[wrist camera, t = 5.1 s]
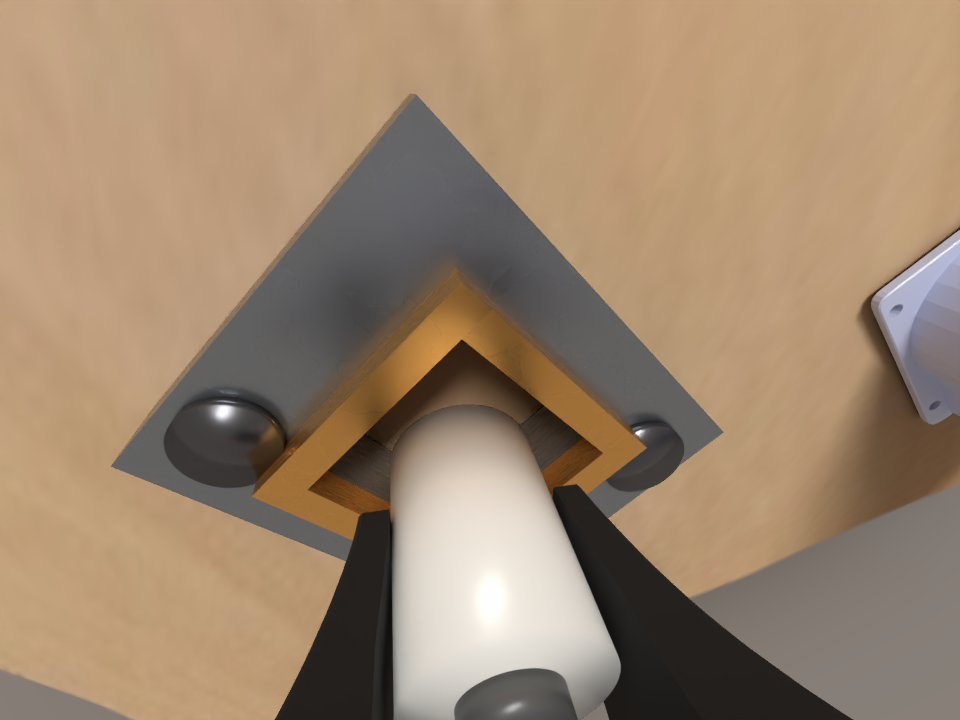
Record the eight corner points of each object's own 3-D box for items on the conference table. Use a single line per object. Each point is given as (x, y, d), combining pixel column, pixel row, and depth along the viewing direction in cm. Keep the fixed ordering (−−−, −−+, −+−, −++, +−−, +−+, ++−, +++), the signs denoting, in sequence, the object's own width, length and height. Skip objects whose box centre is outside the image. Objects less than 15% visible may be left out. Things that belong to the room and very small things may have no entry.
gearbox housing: (682, 391, 18) (743, 451, 15) (468, 560, 21) (482, 639, 18) (409, 93, 11) (419, 95, 8) (152, 409, 14) (89, 495, 11)
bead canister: (554, 452, 13) (678, 708, 8) (459, 528, 14) (507, 807, 9) (462, 378, 11) (538, 646, 6) (359, 471, 12) (338, 781, 7)
